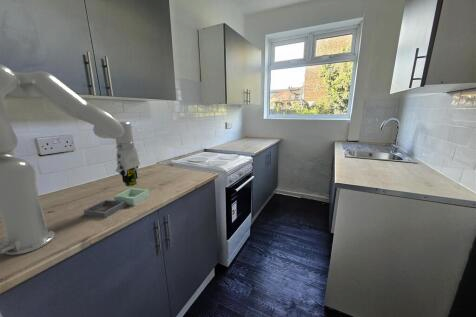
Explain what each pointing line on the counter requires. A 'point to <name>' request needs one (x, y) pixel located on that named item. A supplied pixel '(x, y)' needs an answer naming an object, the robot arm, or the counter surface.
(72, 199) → the counter surface
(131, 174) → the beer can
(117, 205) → the tray
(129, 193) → the green bin
